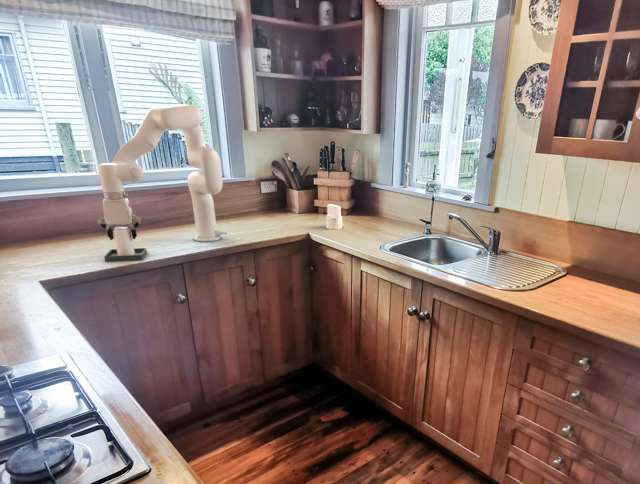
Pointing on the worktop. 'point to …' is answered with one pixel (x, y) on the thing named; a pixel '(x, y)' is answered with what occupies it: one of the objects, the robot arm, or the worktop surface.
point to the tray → (113, 255)
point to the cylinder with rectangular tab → (333, 217)
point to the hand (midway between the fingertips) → (123, 238)
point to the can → (123, 240)
